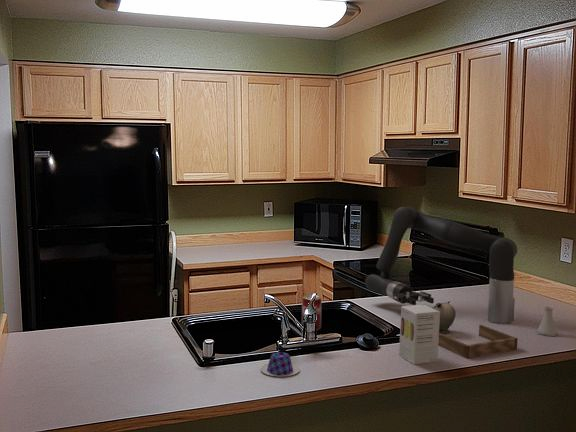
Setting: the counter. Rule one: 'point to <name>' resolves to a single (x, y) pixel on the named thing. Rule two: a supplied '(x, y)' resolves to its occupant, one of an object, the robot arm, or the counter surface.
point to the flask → (547, 324)
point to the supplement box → (419, 334)
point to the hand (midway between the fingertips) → (424, 301)
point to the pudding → (280, 365)
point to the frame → (496, 345)
